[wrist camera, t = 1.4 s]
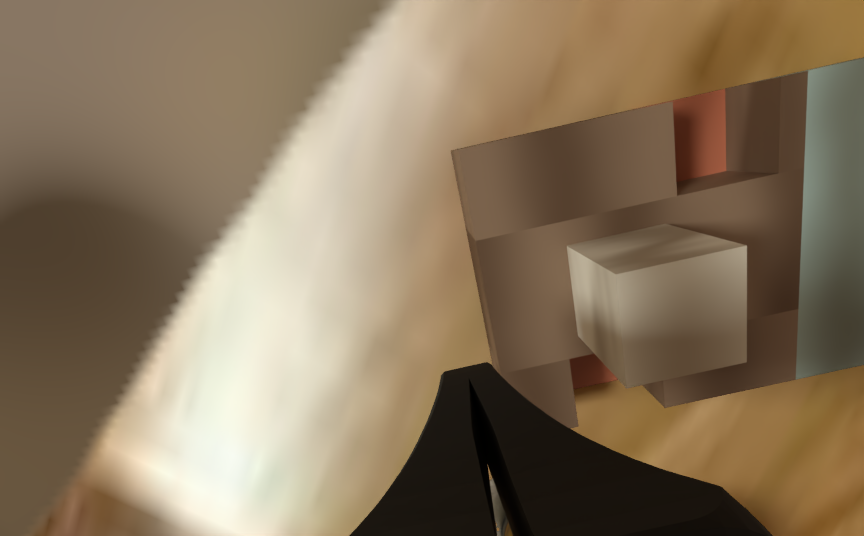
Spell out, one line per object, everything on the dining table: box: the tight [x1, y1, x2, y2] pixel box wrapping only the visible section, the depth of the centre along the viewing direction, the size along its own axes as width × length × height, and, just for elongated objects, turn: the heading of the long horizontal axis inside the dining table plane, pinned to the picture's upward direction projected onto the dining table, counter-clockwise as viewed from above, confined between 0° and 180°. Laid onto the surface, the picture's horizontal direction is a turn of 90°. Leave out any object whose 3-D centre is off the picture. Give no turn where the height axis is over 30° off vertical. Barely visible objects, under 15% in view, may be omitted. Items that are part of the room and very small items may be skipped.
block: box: [567, 224, 747, 388], centre depth 15 cm, size 4×4×4 cm
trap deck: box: [451, 58, 864, 428], centre depth 17 cm, size 18×13×4 cm
